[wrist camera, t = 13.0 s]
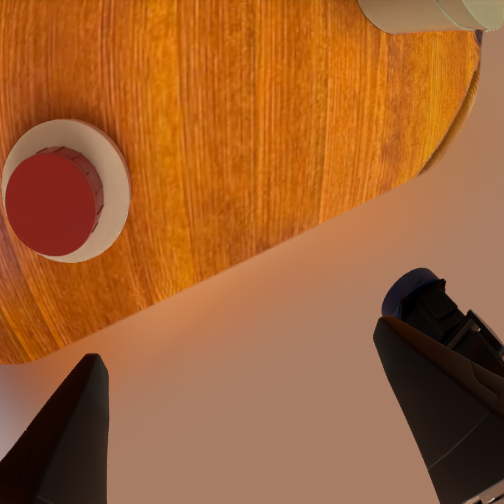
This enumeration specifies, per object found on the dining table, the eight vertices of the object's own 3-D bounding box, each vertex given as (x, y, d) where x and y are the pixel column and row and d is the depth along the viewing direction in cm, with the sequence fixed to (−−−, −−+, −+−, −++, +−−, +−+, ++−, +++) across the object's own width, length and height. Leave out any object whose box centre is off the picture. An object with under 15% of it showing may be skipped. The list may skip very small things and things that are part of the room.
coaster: (154, 228, 18) (153, 234, 17) (46, 273, 17) (42, 279, 17) (100, 91, 13) (96, 91, 12) (-12, 160, 13) (-18, 164, 12)
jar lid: (32, 132, 12) (16, 138, 11) (119, 167, 15) (111, 176, 13) (12, 222, 14) (-1, 236, 13) (89, 254, 17) (81, 271, 15)
